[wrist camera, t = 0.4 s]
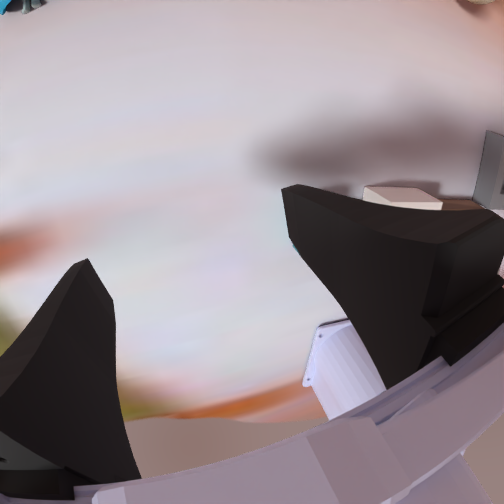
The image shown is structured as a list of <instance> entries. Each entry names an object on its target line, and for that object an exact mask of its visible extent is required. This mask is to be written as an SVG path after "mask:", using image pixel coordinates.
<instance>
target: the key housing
mask: <svg viewBox="0 0 504 504" xmlns="http://www.w3.org/2000/svg"><path fill="white" fill-rule="evenodd" d="M362 200H364V201H368V202H373V203H378V204H384V205H390V206H396V207H404V208H415V209H427V210H441V208H442V204H443V202H441V201H440V200H438V199H436V198H434V197H433V196H431V195H429V194H427V193H425V192H424V191H422V190H420V189H418V188H405V187H369V186H365V188H364V193H363V199H362Z"/></svg>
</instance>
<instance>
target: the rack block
mask: <svg viewBox="0 0 504 504" xmlns="http://www.w3.org/2000/svg"><path fill="white" fill-rule="evenodd" d="M472 200H473V201H475V202H477V203H478V204H480V205H482V206H484V207H485V208H487V209H504V136H501V135H498V134H496V133H493V132H490V131H487V132H486V139H485V144H484V150H483V155H482V160H481V165H480V170H479V175H478V179H477V183H476V187H475V191H474V195H473V199H472Z"/></svg>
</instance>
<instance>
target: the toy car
mask: <svg viewBox="0 0 504 504" xmlns="http://www.w3.org/2000/svg"><path fill="white" fill-rule="evenodd" d="M10 1H11V0H0V14H2V15H3V14H5V12H6V6H7V4H8V3H9V2H10ZM31 1H32V4H31V6H32V7H33V8H34V9H37V8H39V7H40V6H41V3H40V0H31ZM29 12H30V0H23V10H22V14H27V13H29Z"/></svg>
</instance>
